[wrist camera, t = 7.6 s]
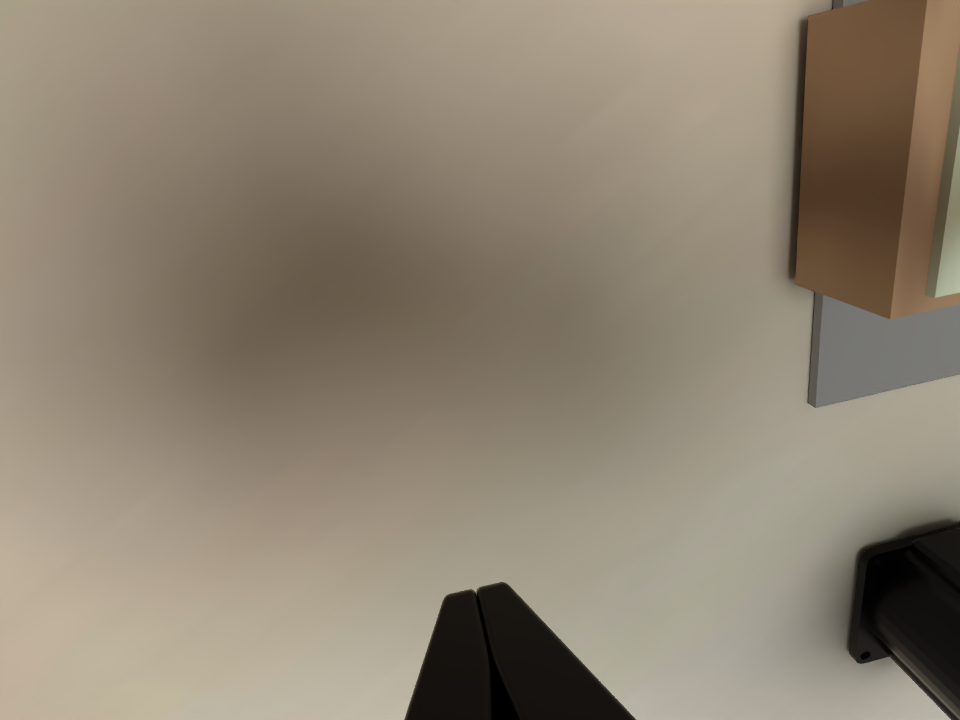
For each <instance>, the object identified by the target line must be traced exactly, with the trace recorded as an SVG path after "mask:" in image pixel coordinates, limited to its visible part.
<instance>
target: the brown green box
mask: <svg viewBox="0 0 960 720" xmlns="http://www.w3.org/2000/svg"><path fill="white" fill-rule="evenodd" d="M795 285H798V286H801V287H804V288H806V289H809V290H812V291H814V292H817V293H820V294H823V295H825V296H828V297H831V298H833V299H836V300H839V301H841V302H844V303H847V304H850V305H852V306H855V307H858V308H860V309H863V310H866V311H869V312H871V313H874V314H877V315H879V316H882V317H885V318H887V319H895V318H899V317H904V316H908V315H913V314H917V313H922V312H926V311H931V310H935V309H940V308H944V307H949V306H953V305H958V304H960V0H868V1H864V2H860V3H856V4H853V5H849V6H845V7H841V8H837V9H833V10H830V11H826V12H822V13H818V14H814V15H811V16H808V35H807V56H806V76H805V97H804V117H803V138H802V158H801V178H800V199H799V219H798V240H797V260H796V281H795Z"/></svg>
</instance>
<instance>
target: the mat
mask: <svg viewBox="0 0 960 720" xmlns="http://www.w3.org/2000/svg"><path fill="white" fill-rule="evenodd" d="M864 1H868V0H833V9H837V8H841V7H845V6H849V5H853V4H856V3H860V2H864ZM959 374H960V304H958V305H953V306H949V307H944V308H940V309H935V310H931V311H926V312H922V313H917V314H913V315H908V316H904V317H899V318H895V319H887V318H885V317H882V316H879V315H877V314H874V313H871V312H869V311H866V310H863V309H860V308H858V307H855V306H852V305H850V304H847V303H844V302H841V301H839V300H836V299H833V298H831V297H828V296H825V295H823V294H820V293H817V292H815V304H814V320H813V336H812V352H811V368H810V383H809V399H808V403H809V404H810V405H812V406H814V407H815V408H817V407H821V406H825V405H830V404H834V403H838V402H842V401H847V400H851V399H855V398H860V397H864V396H868V395H873V394H877V393H881V392H885V391H890V390H894V389H898V388H903V387H907V386H911V385H916V384H920V383H924V382H928V381H933V380H937V379H941V378H946V377H950V376H954V375H959Z"/></svg>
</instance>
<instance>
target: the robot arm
mask: <svg viewBox="0 0 960 720" xmlns="http://www.w3.org/2000/svg"><path fill="white" fill-rule="evenodd" d="M849 654H850V655H851V656H852V657H853V658H854V659H855V661H856V662H857V663H860V664H862V663H867V662H871V661H874V660H878V659H881V658H885V657H889V656H890V657H891V658H892V659H893V660H894V661H895V662H896V663H897V664H898V665H899V667H900V668H901V669H902V670H903V671H904V672H905V673H906V674H907V675H908V676H909V677H910V678H911V679H912V680H913V681H914V682H915V683H916V684H917V685H918V686H919V687H920V688H921V689H922V690H923V691H924V692H925V693H926V694H927V695H928V696H929V697H930V698H931V699H932V700H933V701H934V702H935V703H936V704H937V705H938V707H939V708H940V709H941V710H942V711H943V712H944V713H945V714H946V715H947V716H948V717H949V718H950V719H951V720H960V525H958V526H954V527H950V528H946V529H942V530H938V531H934V532H930V533H927V534H923V535H919V536H915V537H911V538H907V539H903V540H900V541H896V542H892V543H888V544H884V545H880V546H876V547H872V548H870V549H867V550H866V551H865V552H863V554H862V555H861V557H860V560H859V569H858V578H857V586H856V595H855V604H854V613H853V622H852V631H851V639H850V648H849ZM404 720H636V719H635V718H634V717H633V716H632V715H631V714H630V713H629V712H628V711H627V710H626V708H625V707H624V706H623V705H622V704H621V703H620V702H619V701H618V700H617V699H616V698H615V697H614V696H613V695H612V694H611V693H610V692H609V690H608V689H607V688H606V687H605V686H604V685H603V684H602V683H601V682H600V681H599V680H598V679H597V678H596V677H595V676H594V675H593V674H592V673H591V671H590V670H589V669H588V668H587V667H586V666H585V665H584V664H583V663H582V662H581V661H580V660H579V659H578V658H577V657H576V656H575V655H574V654H573V652H572V651H571V650H570V649H569V648H568V647H567V646H566V645H565V644H564V643H563V642H562V641H561V640H560V639H559V638H558V637H557V636H556V634H555V633H554V632H553V631H552V630H551V629H550V628H549V627H548V626H547V625H546V624H545V623H544V622H543V621H542V620H541V619H540V618H539V617H538V615H537V614H536V613H535V612H534V611H533V610H532V609H531V608H530V607H529V606H528V605H527V604H526V603H525V602H524V601H523V600H522V599H521V597H520V596H519V595H518V594H517V593H516V592H515V591H514V590H513V589H512V588H511V587H510V586H509V585H508V584H507V583H504V582H500V583H496V584H491V585H487V586H482V587H479V588H478V589H477V595H476V593H475V591H474V590H471V589H470V590H465V591H461V592H456V593H452V594H448V595H447V596H446V597H445V598H444V600H443V602H442V605H441V609H440V612H439V615H438V618H437V621H436V624H435V627H434V630H433V633H432V636H431V639H430V642H429V645H428V649H427V652H426V655H425V658H424V661H423V664H422V667H421V670H420V673H419V676H418V679H417V682H416V685H415V689H414V692H413V695H412V698H411V701H410V704H409V707H408V710H407V713H406V716H405V719H404Z"/></svg>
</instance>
